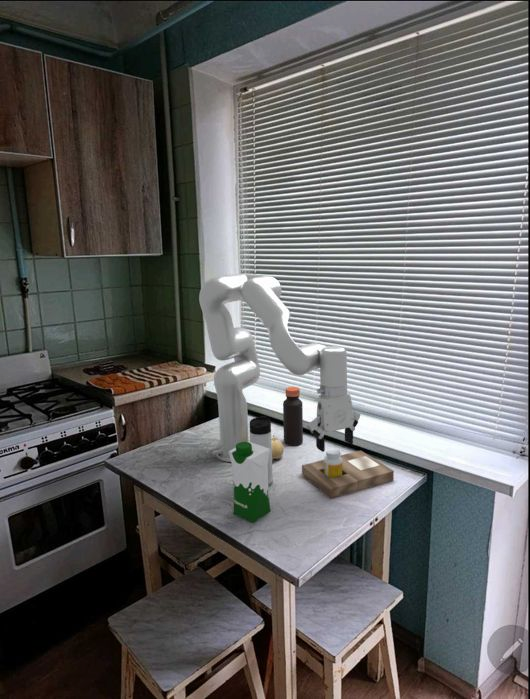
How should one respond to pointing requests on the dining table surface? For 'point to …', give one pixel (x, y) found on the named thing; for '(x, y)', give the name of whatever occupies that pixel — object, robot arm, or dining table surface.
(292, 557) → the dining table surface
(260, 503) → the milk carton
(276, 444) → the onion
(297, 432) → the vinegar
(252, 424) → the travel mug
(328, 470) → the supplement bottle
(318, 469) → the socket board
